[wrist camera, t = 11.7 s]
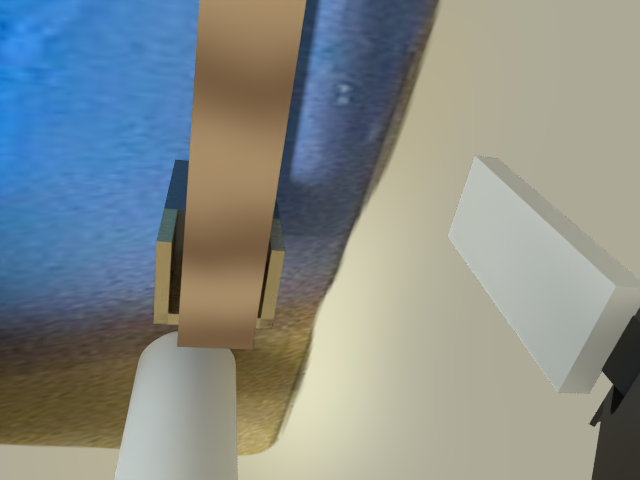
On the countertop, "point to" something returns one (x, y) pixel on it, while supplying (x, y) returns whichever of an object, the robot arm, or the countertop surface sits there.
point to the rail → (234, 164)
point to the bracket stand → (172, 256)
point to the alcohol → (181, 415)
